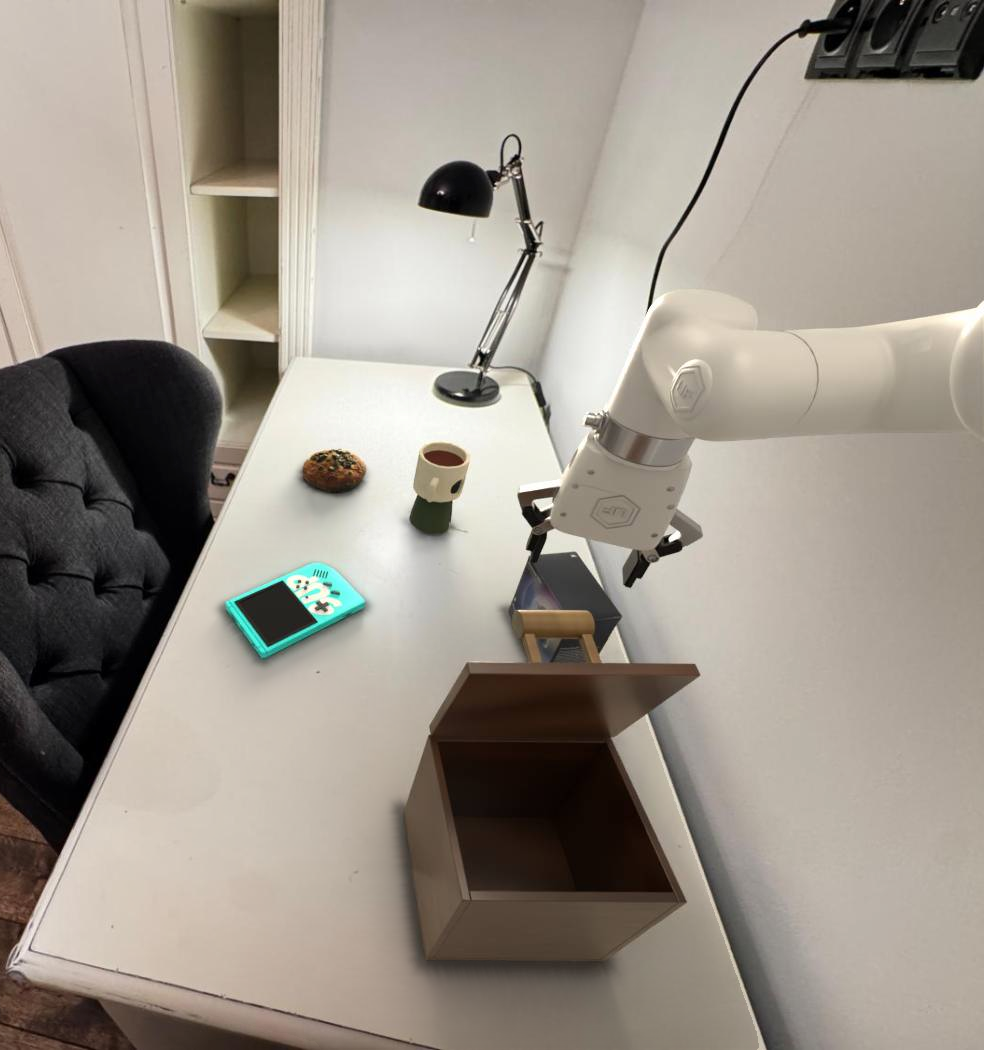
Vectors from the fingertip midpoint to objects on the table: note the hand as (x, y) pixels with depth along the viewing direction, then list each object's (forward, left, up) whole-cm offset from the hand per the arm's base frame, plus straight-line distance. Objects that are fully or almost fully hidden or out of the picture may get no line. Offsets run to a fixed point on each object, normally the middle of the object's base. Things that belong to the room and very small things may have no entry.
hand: (578, 566), depth 63 cm
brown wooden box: (+3, +30, -13) cm, 33 cm away
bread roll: (+36, -24, -13) cm, 45 cm away
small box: (0, 0, -13) cm, 13 cm away
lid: (+4, +26, +8) cm, 28 cm away
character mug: (+18, -17, -13) cm, 28 cm away
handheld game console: (+31, +7, -13) cm, 34 cm away
